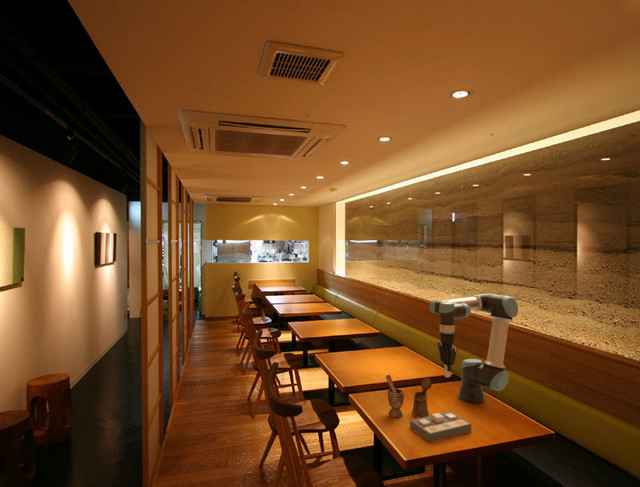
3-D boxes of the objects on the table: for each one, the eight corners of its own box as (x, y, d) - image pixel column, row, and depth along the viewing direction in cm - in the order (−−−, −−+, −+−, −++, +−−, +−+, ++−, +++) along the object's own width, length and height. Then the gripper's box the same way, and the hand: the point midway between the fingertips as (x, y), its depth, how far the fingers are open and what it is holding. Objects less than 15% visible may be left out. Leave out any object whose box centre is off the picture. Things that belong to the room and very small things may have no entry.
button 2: (450, 420, 197) (450, 413, 197) (456, 424, 193) (456, 416, 193) (444, 422, 196) (445, 414, 196) (450, 425, 192) (450, 417, 192)
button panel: (449, 418, 201) (449, 411, 201) (471, 432, 188) (471, 423, 188) (409, 427, 191) (410, 419, 191) (429, 442, 177) (429, 433, 177)
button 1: (424, 426, 190) (424, 418, 190) (430, 430, 187) (430, 422, 187) (418, 428, 189) (418, 420, 189) (423, 431, 185) (423, 423, 185)
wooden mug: (435, 411, 210) (436, 379, 210) (423, 419, 200) (423, 385, 200) (421, 406, 216) (422, 375, 216) (408, 413, 207) (409, 381, 207)
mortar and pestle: (379, 413, 207) (380, 377, 207) (387, 408, 214) (387, 373, 213) (399, 419, 200) (399, 382, 200) (406, 414, 206) (406, 377, 206)
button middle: (438, 420, 194) (438, 413, 194) (443, 424, 190) (443, 416, 190) (431, 422, 192) (432, 414, 192) (437, 425, 189) (437, 417, 188)
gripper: (433, 330, 201) (433, 373, 202) (450, 335, 189) (450, 382, 190) (444, 328, 204) (444, 371, 205) (461, 334, 192) (462, 379, 193)
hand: (447, 376), depth 197 cm, fingers closed
